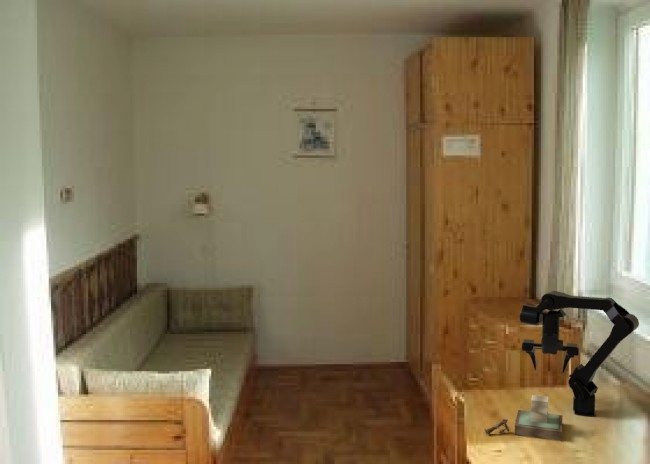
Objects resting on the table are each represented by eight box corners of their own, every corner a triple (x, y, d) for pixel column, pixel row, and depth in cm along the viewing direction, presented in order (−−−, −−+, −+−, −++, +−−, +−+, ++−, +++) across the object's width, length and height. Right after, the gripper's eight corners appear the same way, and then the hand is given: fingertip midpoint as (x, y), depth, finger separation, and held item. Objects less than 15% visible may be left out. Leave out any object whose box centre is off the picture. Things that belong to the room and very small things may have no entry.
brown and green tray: (562, 424, 224) (562, 414, 223) (561, 441, 211) (561, 430, 210) (517, 418, 228) (518, 409, 228) (514, 434, 215) (514, 424, 215)
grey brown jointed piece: (512, 430, 217) (508, 418, 216) (491, 442, 215) (486, 430, 214) (510, 428, 218) (505, 416, 218) (488, 440, 217) (484, 428, 216)
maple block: (547, 417, 221) (548, 396, 220) (547, 423, 216) (547, 402, 215) (531, 415, 222) (532, 394, 221) (530, 421, 218) (531, 400, 217)
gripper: (521, 331, 234) (519, 375, 235) (579, 335, 227) (577, 381, 229) (523, 323, 244) (522, 365, 246) (579, 327, 238) (577, 371, 239)
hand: (549, 371), depth 240 cm, fingers open, 9 cm apart
